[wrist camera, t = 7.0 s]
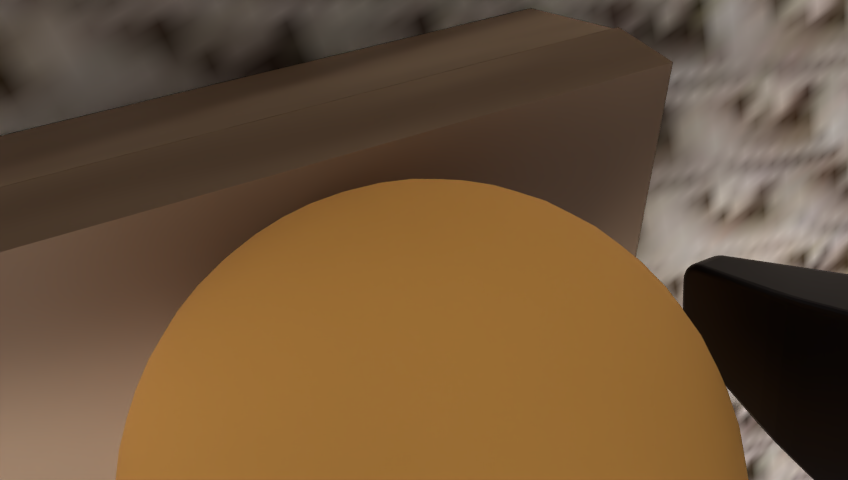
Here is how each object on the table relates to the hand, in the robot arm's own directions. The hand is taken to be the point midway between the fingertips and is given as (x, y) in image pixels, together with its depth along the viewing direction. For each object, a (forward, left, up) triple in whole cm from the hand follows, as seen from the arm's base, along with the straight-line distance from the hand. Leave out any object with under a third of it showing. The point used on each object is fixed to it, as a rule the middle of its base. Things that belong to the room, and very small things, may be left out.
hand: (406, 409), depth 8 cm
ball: (0, 0, -2) cm, 2 cm away
